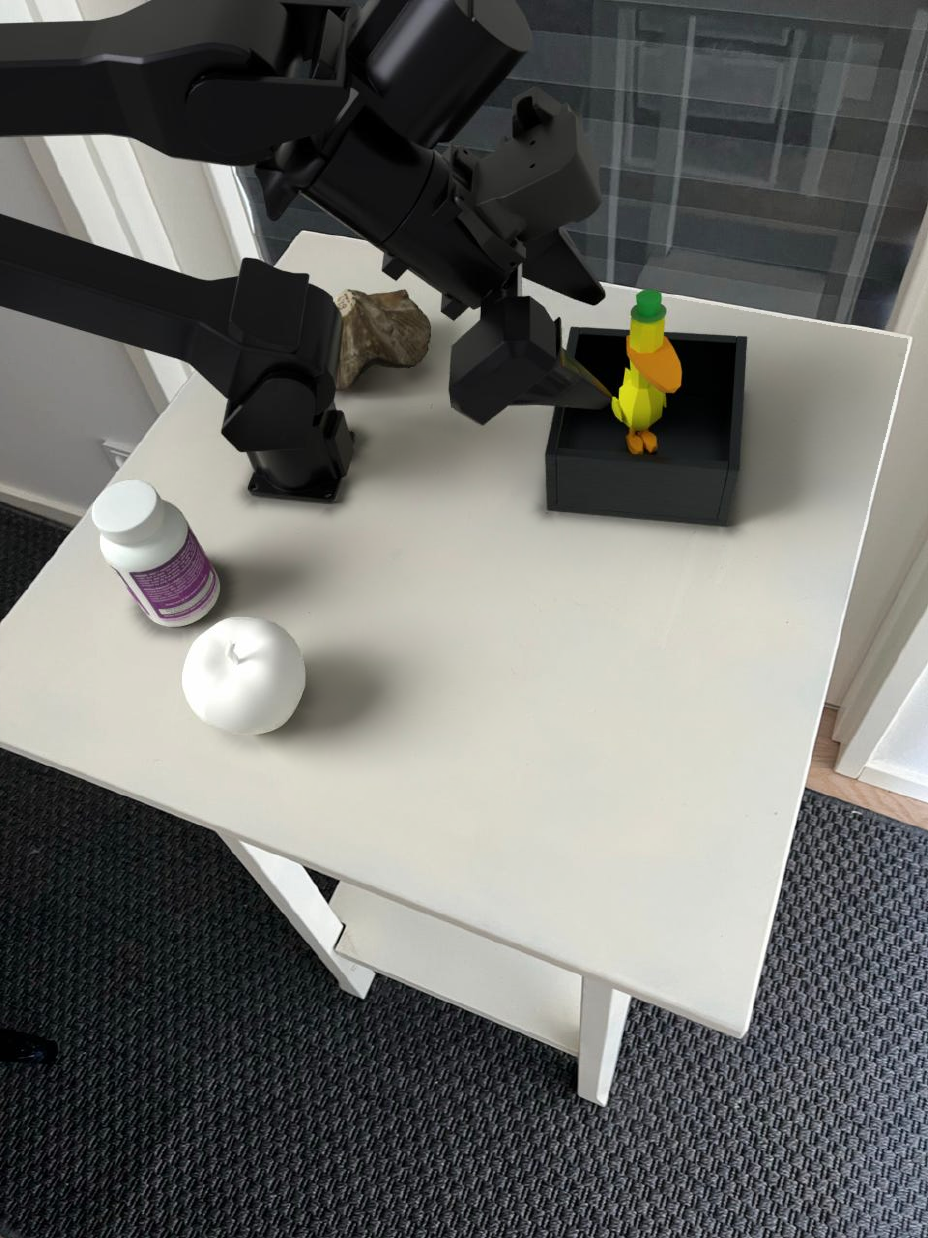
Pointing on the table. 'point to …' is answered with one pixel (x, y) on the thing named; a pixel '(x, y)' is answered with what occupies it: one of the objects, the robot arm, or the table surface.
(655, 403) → the toy figure
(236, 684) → the plain white apple
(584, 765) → the table surface
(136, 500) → the pill bottle
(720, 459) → the open black box
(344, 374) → the brown irregular lump
